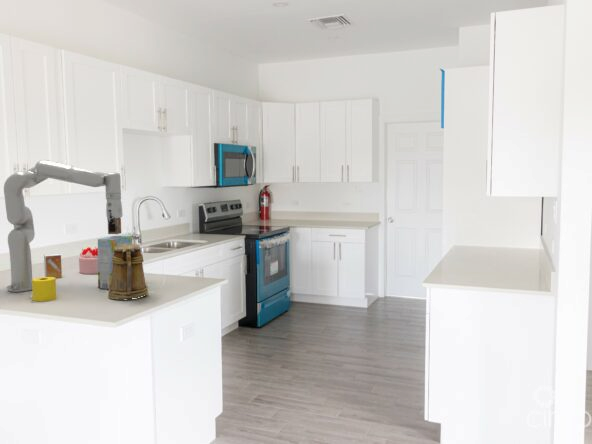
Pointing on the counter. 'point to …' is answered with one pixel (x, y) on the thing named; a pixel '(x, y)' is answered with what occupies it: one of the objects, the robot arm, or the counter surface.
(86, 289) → the counter surface
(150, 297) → the counter surface
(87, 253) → the cake
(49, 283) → the tape roll
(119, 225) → the walnut block
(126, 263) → the tankard
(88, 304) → the counter surface
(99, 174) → the robot arm
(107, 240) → the snack box
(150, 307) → the counter surface
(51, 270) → the small box
